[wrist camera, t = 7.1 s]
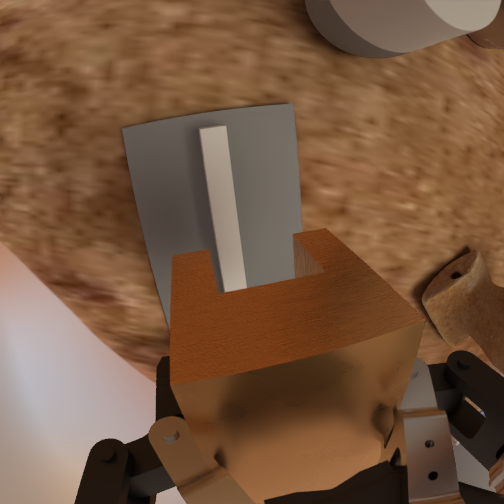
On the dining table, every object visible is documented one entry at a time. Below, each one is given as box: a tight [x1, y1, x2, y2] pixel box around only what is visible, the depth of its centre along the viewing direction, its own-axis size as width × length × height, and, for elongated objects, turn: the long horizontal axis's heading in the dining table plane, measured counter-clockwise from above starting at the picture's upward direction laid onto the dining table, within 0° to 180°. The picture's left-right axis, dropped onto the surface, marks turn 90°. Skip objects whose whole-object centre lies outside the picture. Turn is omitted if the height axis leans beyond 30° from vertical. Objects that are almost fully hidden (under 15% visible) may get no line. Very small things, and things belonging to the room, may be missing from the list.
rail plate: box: [122, 104, 303, 329], centre depth 22 cm, size 20×12×7 cm, turn 6°
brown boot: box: [422, 250, 504, 374], centre depth 28 cm, size 15×12×15 cm
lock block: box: [170, 228, 425, 504], centre depth 10 cm, size 8×6×6 cm
